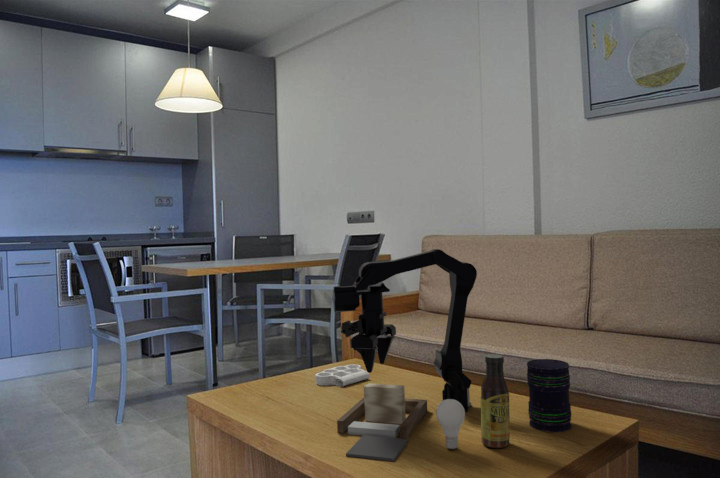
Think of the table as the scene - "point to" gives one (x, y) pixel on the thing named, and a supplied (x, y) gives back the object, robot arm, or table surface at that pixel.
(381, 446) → the mat
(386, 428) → the offcut top
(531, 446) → the table surface
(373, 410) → the pale wooden block
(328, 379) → the knuckle duster
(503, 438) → the sauce bottle
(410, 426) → the frame
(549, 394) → the dark blue cylinder
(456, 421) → the lightbulb
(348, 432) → the offcut bottom
